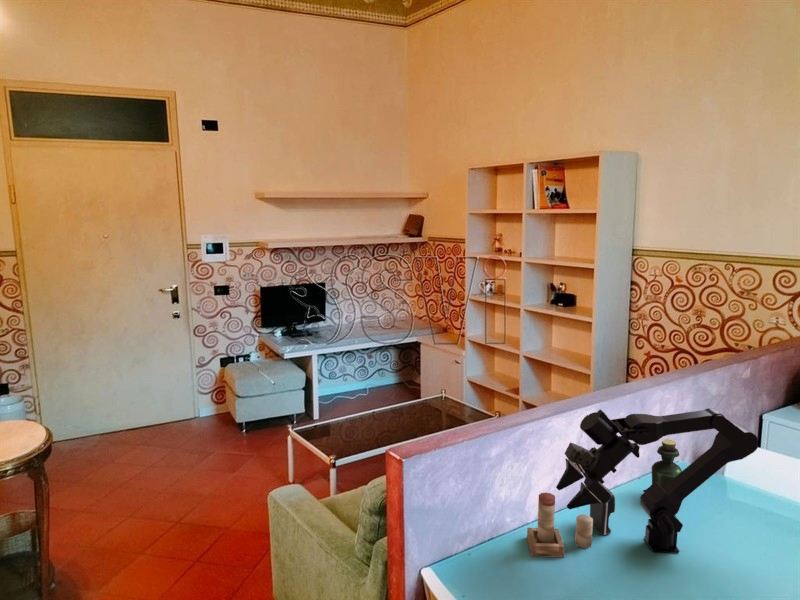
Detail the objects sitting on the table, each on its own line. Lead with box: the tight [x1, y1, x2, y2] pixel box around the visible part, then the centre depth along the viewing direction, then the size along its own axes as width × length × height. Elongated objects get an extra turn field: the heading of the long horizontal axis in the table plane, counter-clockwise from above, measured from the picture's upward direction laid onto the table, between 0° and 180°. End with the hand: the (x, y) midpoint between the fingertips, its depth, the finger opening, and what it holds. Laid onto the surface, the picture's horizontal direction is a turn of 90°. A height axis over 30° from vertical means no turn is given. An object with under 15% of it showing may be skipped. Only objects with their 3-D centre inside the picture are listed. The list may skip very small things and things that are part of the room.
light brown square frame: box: [526, 527, 565, 558], centre depth 148 cm, size 8×8×3 cm
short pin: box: [574, 514, 594, 549], centre depth 149 cm, size 4×4×7 cm
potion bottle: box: [651, 438, 683, 485], centre depth 169 cm, size 8×8×18 cm
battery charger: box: [589, 488, 616, 536], centre depth 155 cm, size 7×4×11 cm, turn 12°
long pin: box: [537, 492, 556, 544], centre depth 147 cm, size 4×4×13 cm
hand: (562, 498), depth 146 cm, fingers open, 9 cm apart
